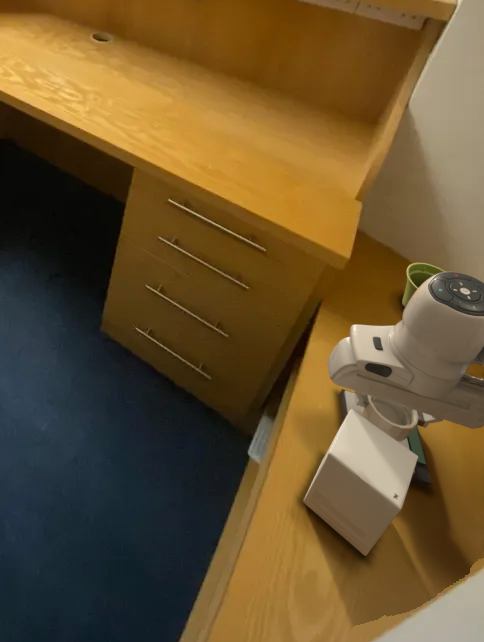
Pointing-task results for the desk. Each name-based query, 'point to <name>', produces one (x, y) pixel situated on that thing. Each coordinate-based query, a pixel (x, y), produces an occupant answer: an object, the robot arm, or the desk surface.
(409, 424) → the bowl
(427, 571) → the desk surface
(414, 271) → the plant pot
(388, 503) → the rectangular carton
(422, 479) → the scale
